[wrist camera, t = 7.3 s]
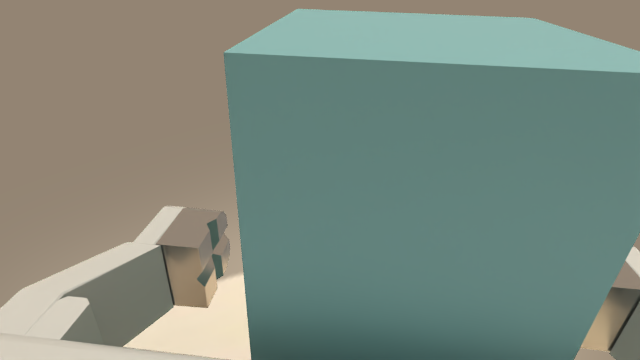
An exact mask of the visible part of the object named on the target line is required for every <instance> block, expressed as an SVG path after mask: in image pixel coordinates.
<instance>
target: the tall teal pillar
mask: <svg viewBox="0 0 640 360" xmlns="http://www.w3.org/2000/svg"><path fill="white" fill-rule="evenodd" d="M224 63H225V74H226V85H227V96H228V106H229V118H230V128H231V140H232V150H233V161H234V172H235V184H236V195H237V205H238V217H239V228H240V239H241V249H242V261H243V272H244V283H245V294H246V305H247V316H248V327H249V338H250V349H251V360H574V358H575V356H576V355H577V352H578V351H579V349H580V347H581V345H582V343H583V341H584V339H585V337H586V335H587V333H588V331H589V330H590V328H591V326H592V324H593V322H594V320H595V318H596V316H597V314H598V312H599V310H600V308H601V306H602V304H603V303H604V301H605V299H606V297H607V295H608V293H609V291H610V289H611V287H612V285H613V283H614V281H615V279H616V278H617V276H618V274H619V272H620V270H621V268H622V266H623V264H624V262H625V260H626V258H627V256H628V254H629V253H630V251H631V249H632V247H633V245H634V243H635V241H636V239H637V237H638V235H639V233H640V51H636V50H633V49H630V48H627V47H624V46H620V45H617V44H614V43H611V42H608V41H604V40H601V39H598V38H595V37H592V36H589V35H585V34H582V33H579V32H576V31H573V30H569V29H566V28H563V27H560V26H557V25H554V24H550V23H547V22H544V21H541V20H537V19H534V18H517V17H516V18H515V17H491V16H466V15H465V16H464V15H463V16H462V15H439V14H413V13H386V12H362V11H336V10H311V9H297V10H295V11H293V12H292V13H290V14H288V15H286V16H285V17H283V18H281V19H280V20H278V21H276V22H275V23H273V24H271V25H269V26H268V27H266V28H264V29H263V30H261V31H259V32H258V33H256V34H254V35H252V36H251V37H249V38H247V39H246V40H244V41H242V42H241V43H239V44H237V45H235V46H234V47H232V48H230V49H229V50H227V51H225V52H224Z"/></svg>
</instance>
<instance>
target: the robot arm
mask: <svg viewBox="0 0 640 360" xmlns="http://www.w3.org/2000/svg"><path fill="white" fill-rule="evenodd" d="M227 225H228V224H227V217H226V214H225V213H224V211H216V210H206V209H197V208H188V207H187V208H185V207H177V206H166V207H163V208H162V209H161V211H160V212H159V213H158V214H157V215H156V216H155V217H154V219H153V220H152V221H151V222H150V223H149V225H148V226H147V227H146V228H145V229H144V230H143V231H142V233H141V234H140V235H139V236H138V237H137V238H136V239H135V241H134V242H133V243H130V242H126V243H124V244H122V245H119V246H117V247H115V248H113V249H110V250H108V251H106V252H104V253H101V254H99V255H97V256H95V257H93V258H90V259H88V260H86V261H83V262H81V263H79V264H77V265H74V266H72V267H70V268H68V269H66V270H63V271H61V272H59V273H57V274H54V275H52V276H50V277H48V278H45V279H43V280H41V281H39V282H36V283H34V284H32V285H30V286H27V287H25V288H23V289H21V290H20V291H19V292H18V293H17V294H15V295H14V296H13V297H12V298H11V299H10V300H9V301H8V302H7V303H6V304H5V305H4V306H2V307H1V308H0V360H229V359H220V358H212V357H203V356H195V355H186V354H178V353H169V352H160V351H152V350H143V349H135V348H126V347H123V346H124V345H125V344H127V343H128V342H129V341H131V340H132V339H133V338H134V337H136V336H137V335H138V334H140V333H141V332H142V331H143V330H145V329H146V328H147V327H149V326H150V325H151V324H153V323H154V322H155V321H156V320H158V319H159V318H160V317H162V316H163V315H164V314H165V313H167V312H168V311H169V310H171V309H172V308H173V307H174V306H173V305H176V306H189V307H202V308H208V307H209V305H210V302H211V300H212V298H213V296H214V294H215V292H216V290H217V279H218V278H220V277H221V276H223V275H224V273H225V271H226V268H227V265H228V261H229V255H230V243H229V239H228V238H227V237H226V235H225V234H224V231H225V229H226V228H227ZM580 348H584V349H592V350H599V351H607V352H610V353H609V354H610V355H611V356H613V357H614V358H615V359H616V360H640V252H639V251H638V250H637V249H636V248H635V247H632V249H631V251H630V253H629V254H628V256H627V258H626V260H625V262H624V264H623V266H622V268H621V270H620V272H619V274H618V276H617V278H616V279H615V281H614V283H613V285H612V287H611V289H610V291H609V293H608V295H607V297H606V299H605V301H604V303H603V304H602V306H601V308H600V310H599V312H598V314H597V316H596V318H595V320H594V322H593V324H592V326H591V328H590V330H589V331H588V333H587V335H586V337H585V339H584V341H583V343H582V345H581V347H580Z"/></svg>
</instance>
